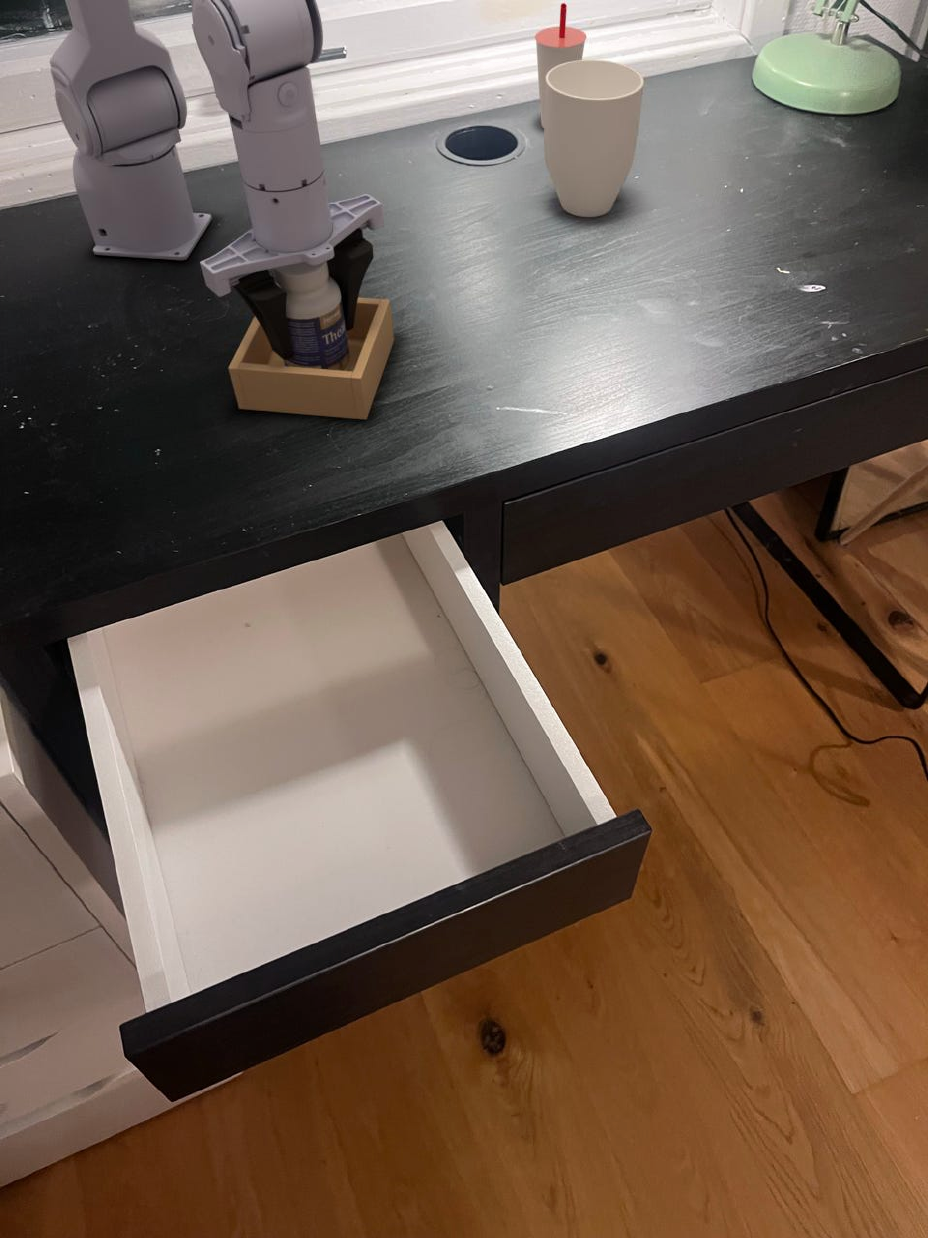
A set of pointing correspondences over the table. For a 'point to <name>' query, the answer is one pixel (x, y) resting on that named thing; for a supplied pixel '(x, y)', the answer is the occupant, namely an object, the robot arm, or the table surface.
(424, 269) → the table surface
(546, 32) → the cup
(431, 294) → the table surface
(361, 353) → the desk tray
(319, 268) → the pill bottle
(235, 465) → the table surface
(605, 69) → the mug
